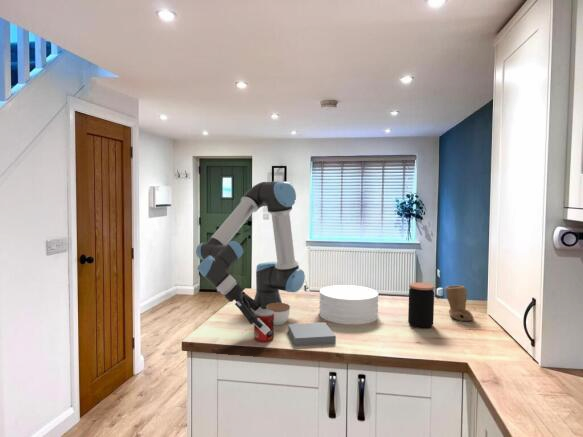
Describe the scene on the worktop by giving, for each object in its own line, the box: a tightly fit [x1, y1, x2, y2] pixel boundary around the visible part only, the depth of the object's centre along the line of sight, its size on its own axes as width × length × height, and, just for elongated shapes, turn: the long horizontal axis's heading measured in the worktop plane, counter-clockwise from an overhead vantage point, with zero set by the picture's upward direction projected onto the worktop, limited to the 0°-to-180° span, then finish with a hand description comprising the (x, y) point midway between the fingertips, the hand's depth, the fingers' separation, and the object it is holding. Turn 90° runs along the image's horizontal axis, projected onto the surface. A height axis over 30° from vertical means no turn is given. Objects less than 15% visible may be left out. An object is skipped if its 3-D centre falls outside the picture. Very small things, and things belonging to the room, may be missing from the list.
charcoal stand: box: [287, 321, 337, 347], centre depth 150 cm, size 16×16×3 cm
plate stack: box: [318, 284, 379, 325], centre depth 179 cm, size 28×28×12 cm
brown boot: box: [444, 284, 475, 322], centre depth 177 cm, size 15×12×15 cm
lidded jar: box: [266, 302, 291, 326], centre depth 166 cm, size 11×11×9 cm
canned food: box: [253, 309, 275, 343], centre depth 147 cm, size 8×8×11 cm
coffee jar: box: [407, 282, 435, 329], centre depth 165 cm, size 11×11×18 cm
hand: (268, 326), depth 147 cm, fingers open, 13 cm apart
